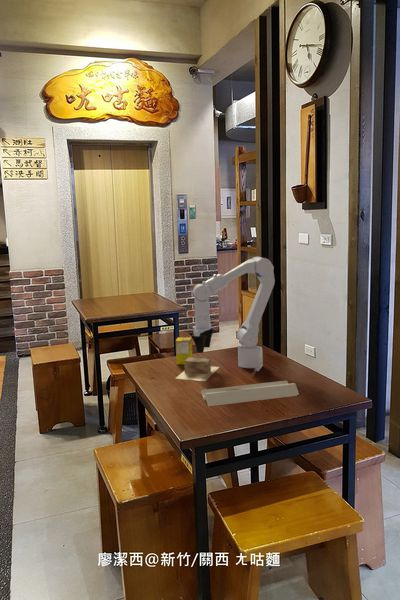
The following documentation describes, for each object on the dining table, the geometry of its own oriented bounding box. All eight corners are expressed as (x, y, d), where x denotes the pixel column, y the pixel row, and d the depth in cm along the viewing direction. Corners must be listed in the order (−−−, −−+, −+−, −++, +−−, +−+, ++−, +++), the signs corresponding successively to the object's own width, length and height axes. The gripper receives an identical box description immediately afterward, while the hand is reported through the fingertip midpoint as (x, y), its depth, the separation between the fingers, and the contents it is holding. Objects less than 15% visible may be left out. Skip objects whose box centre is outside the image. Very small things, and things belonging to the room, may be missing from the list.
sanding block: (210, 371, 189) (210, 359, 188) (207, 375, 185) (206, 362, 184) (189, 369, 192) (188, 357, 191) (184, 373, 188) (184, 360, 187)
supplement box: (192, 362, 205) (191, 336, 203) (191, 366, 199) (190, 340, 198) (178, 362, 206) (177, 336, 204) (176, 366, 200) (175, 340, 198)
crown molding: (285, 385, 176) (286, 376, 175) (299, 397, 164) (299, 387, 164) (200, 395, 169) (200, 385, 169) (208, 408, 158) (208, 397, 157)
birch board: (219, 369, 194) (219, 367, 194) (205, 383, 179) (205, 381, 179) (191, 367, 199) (191, 364, 198) (174, 381, 183) (174, 378, 183)
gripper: (198, 311, 197) (200, 344, 199) (185, 319, 183) (187, 354, 186) (215, 312, 194) (216, 345, 197) (203, 320, 181) (205, 355, 183)
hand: (203, 349), depth 191 cm, fingers open, 7 cm apart
